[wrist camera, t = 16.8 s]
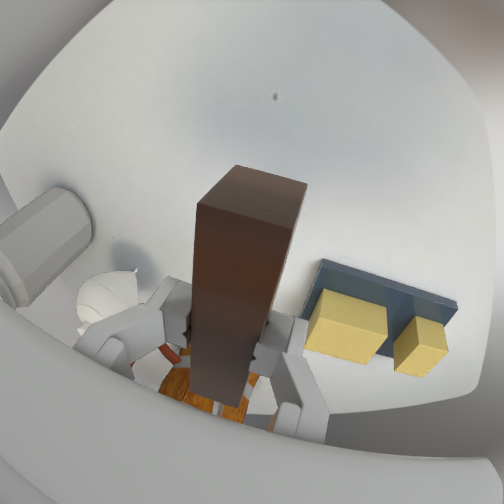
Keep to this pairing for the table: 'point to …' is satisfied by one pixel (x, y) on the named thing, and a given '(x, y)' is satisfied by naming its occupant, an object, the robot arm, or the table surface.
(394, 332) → the butter dish
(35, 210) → the jar
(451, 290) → the table surface
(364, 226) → the table surface
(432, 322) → the block
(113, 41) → the table surface
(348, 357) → the butter block
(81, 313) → the spinning top
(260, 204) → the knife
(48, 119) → the table surface
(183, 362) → the mug
